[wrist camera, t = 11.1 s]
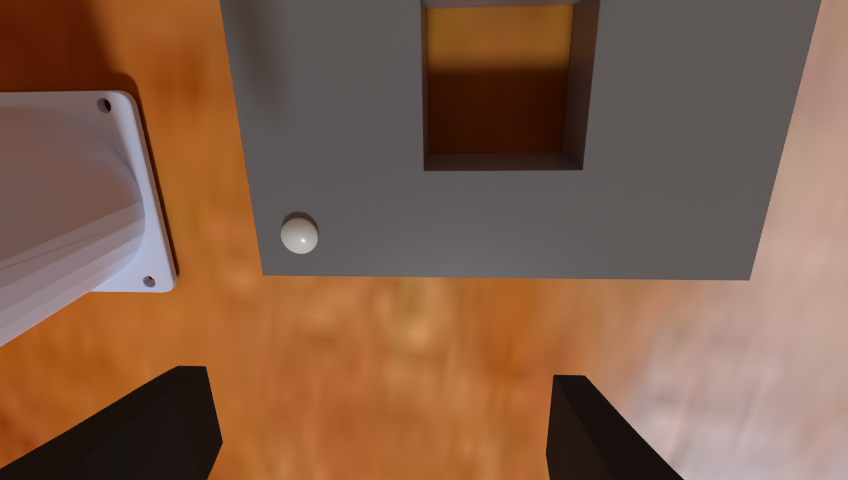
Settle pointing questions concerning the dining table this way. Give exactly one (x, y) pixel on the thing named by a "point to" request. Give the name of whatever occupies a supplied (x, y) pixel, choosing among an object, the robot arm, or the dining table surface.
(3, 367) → the dining table surface
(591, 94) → the plate
